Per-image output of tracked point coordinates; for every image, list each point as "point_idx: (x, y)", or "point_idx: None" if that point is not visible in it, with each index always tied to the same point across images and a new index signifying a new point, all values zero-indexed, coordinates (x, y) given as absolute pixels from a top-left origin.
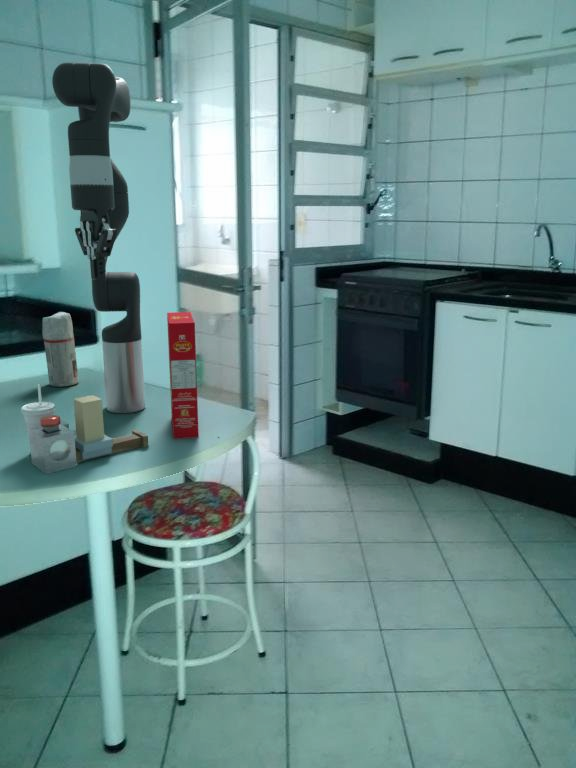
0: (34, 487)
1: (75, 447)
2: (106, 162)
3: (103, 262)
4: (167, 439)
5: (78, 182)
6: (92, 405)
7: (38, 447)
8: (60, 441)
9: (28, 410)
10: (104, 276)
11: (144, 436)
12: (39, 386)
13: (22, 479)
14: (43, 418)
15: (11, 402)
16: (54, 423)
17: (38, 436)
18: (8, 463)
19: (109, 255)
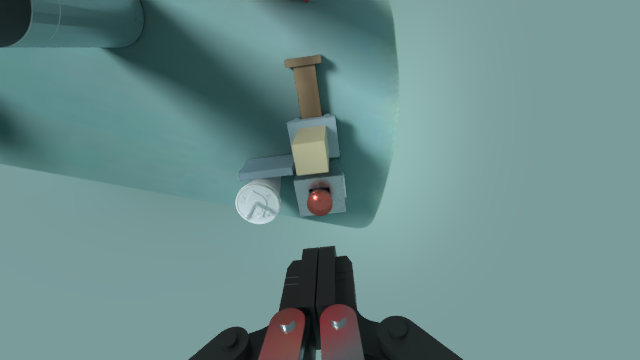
0: (373, 208)
1: None
2: None
3: (354, 304)
4: (304, 13)
5: None
6: (326, 154)
7: None
8: (345, 189)
9: (272, 219)
10: (347, 257)
11: (320, 61)
12: (251, 216)
13: (345, 213)
14: (316, 211)
15: (30, 163)
16: (332, 200)
17: (332, 212)
18: (290, 214)
19: (406, 321)
